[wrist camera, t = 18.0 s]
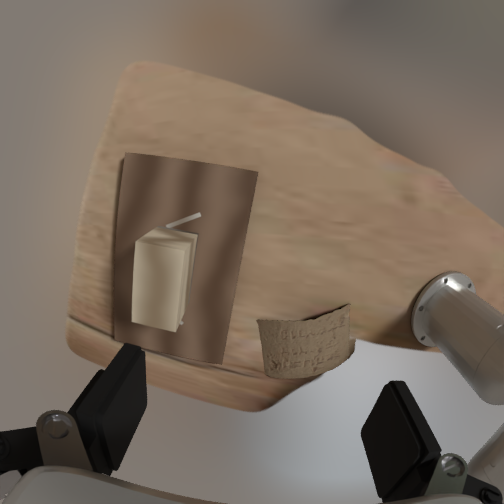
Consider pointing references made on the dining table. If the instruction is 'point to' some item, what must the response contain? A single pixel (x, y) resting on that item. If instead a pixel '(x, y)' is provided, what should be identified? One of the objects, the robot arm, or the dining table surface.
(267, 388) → the dining table surface
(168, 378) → the dining table surface
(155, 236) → the cream carton
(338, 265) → the dining table surface
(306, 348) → the clay tablet
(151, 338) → the walnut board
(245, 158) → the dining table surface
